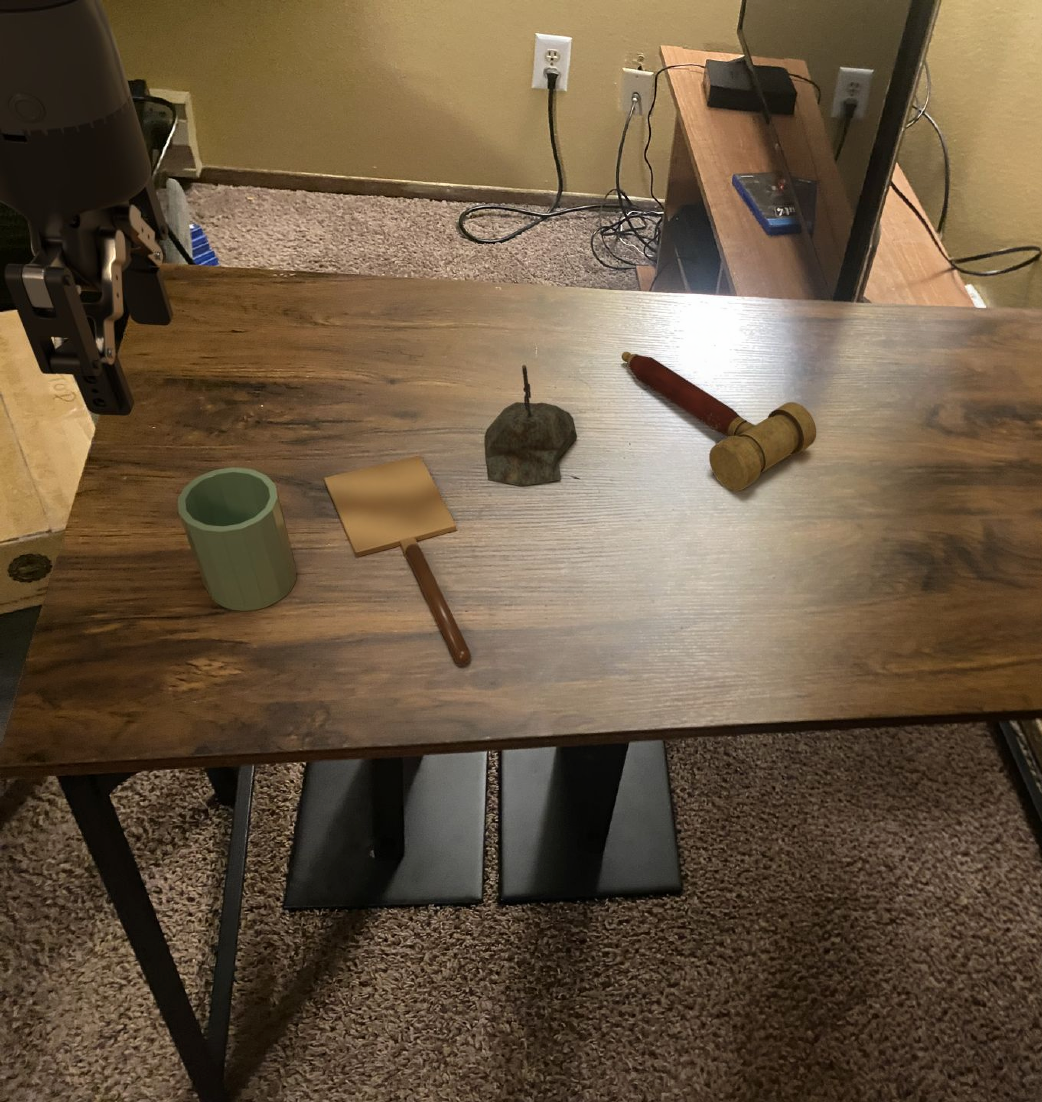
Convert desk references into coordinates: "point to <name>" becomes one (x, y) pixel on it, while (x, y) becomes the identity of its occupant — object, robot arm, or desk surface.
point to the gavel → (731, 425)
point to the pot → (238, 537)
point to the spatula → (398, 525)
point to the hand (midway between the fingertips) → (134, 364)
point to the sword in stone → (528, 441)
